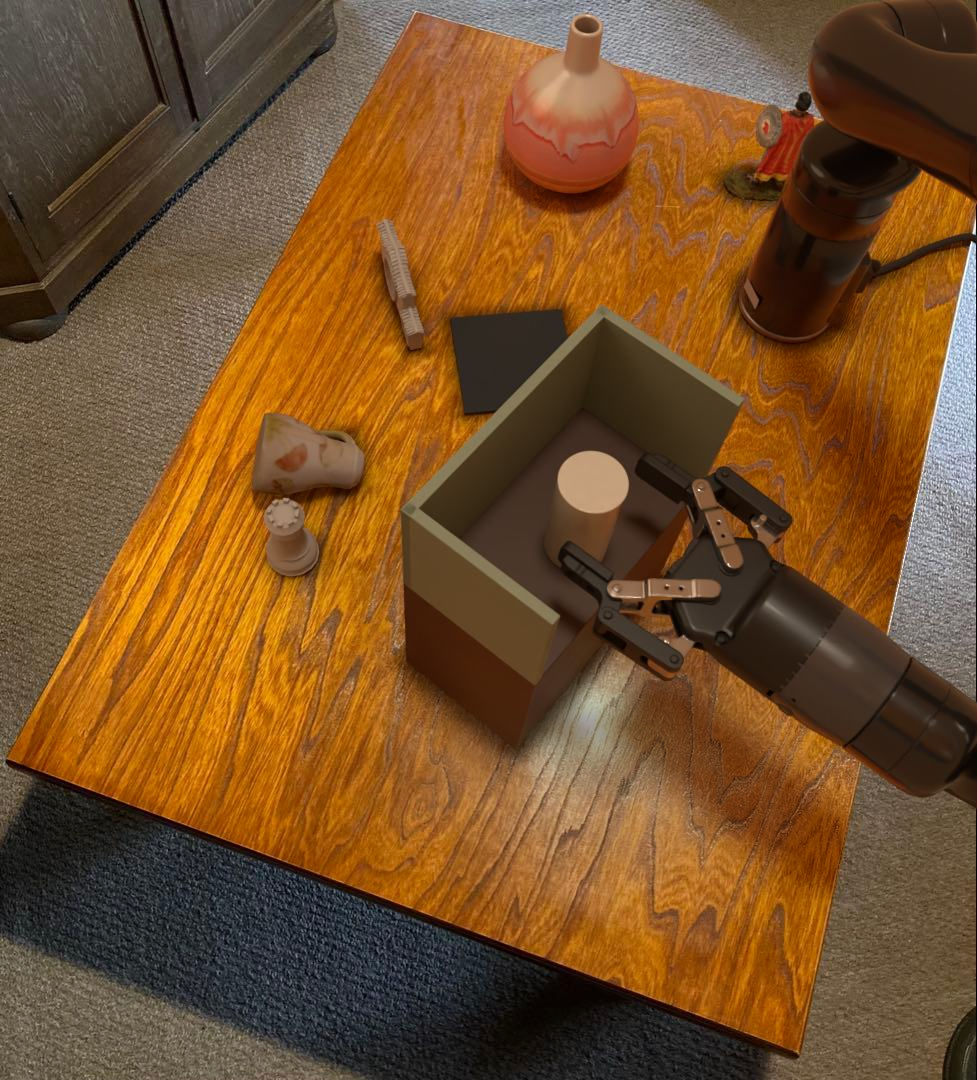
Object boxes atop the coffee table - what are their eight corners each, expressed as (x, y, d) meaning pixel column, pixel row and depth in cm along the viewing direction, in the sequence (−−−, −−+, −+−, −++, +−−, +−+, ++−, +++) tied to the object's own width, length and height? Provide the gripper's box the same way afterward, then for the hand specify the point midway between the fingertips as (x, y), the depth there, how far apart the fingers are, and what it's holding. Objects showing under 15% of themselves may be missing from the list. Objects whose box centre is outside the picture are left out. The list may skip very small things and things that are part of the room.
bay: (661, 571, 94) (745, 398, 70) (515, 749, 86) (552, 625, 62) (556, 495, 97) (601, 303, 72) (405, 661, 89) (400, 509, 65)
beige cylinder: (600, 511, 78) (621, 447, 70) (612, 568, 76) (635, 509, 68) (538, 517, 77) (551, 453, 69) (548, 575, 75) (564, 516, 67)
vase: (492, 124, 116) (504, -25, 101) (616, 119, 118) (647, -28, 102) (507, 221, 110) (522, 79, 95) (638, 215, 112) (673, 74, 96)
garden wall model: (425, 350, 103) (425, 311, 97) (407, 353, 102) (406, 314, 97) (395, 254, 108) (393, 212, 102) (377, 257, 107) (375, 215, 102)
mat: (561, 311, 106) (561, 308, 105) (580, 405, 101) (581, 402, 101) (449, 319, 104) (450, 317, 104) (464, 415, 100) (464, 413, 99)
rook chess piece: (327, 541, 93) (320, 497, 86) (307, 585, 91) (297, 544, 84) (280, 525, 94) (268, 479, 87) (258, 568, 92) (244, 526, 85)
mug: (373, 511, 95) (309, 480, 86) (283, 513, 99) (213, 484, 90) (383, 430, 97) (320, 392, 88) (293, 436, 101) (225, 400, 92)
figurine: (803, 172, 116) (843, 80, 105) (802, 209, 113) (842, 119, 103) (725, 160, 116) (756, 67, 105) (722, 196, 114) (754, 105, 103)
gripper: (891, 550, 66) (674, 403, 70) (768, 725, 60) (540, 555, 64) (847, 598, 72) (651, 461, 76) (733, 759, 67) (529, 603, 71)
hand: (601, 504), depth 70 cm, fingers open, 8 cm apart
